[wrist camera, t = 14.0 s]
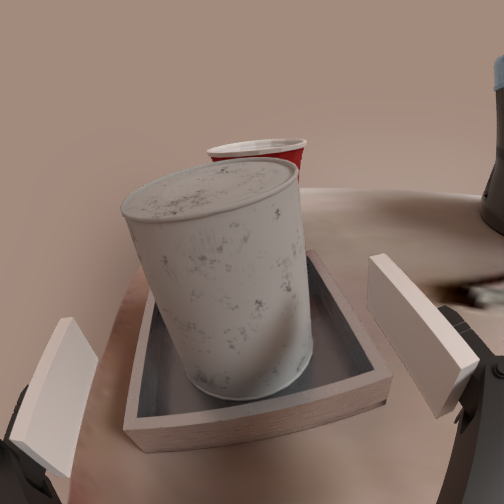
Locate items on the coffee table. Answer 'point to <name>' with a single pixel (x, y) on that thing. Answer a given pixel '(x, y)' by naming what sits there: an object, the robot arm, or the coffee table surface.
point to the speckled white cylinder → (228, 272)
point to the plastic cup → (261, 150)
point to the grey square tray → (264, 409)
